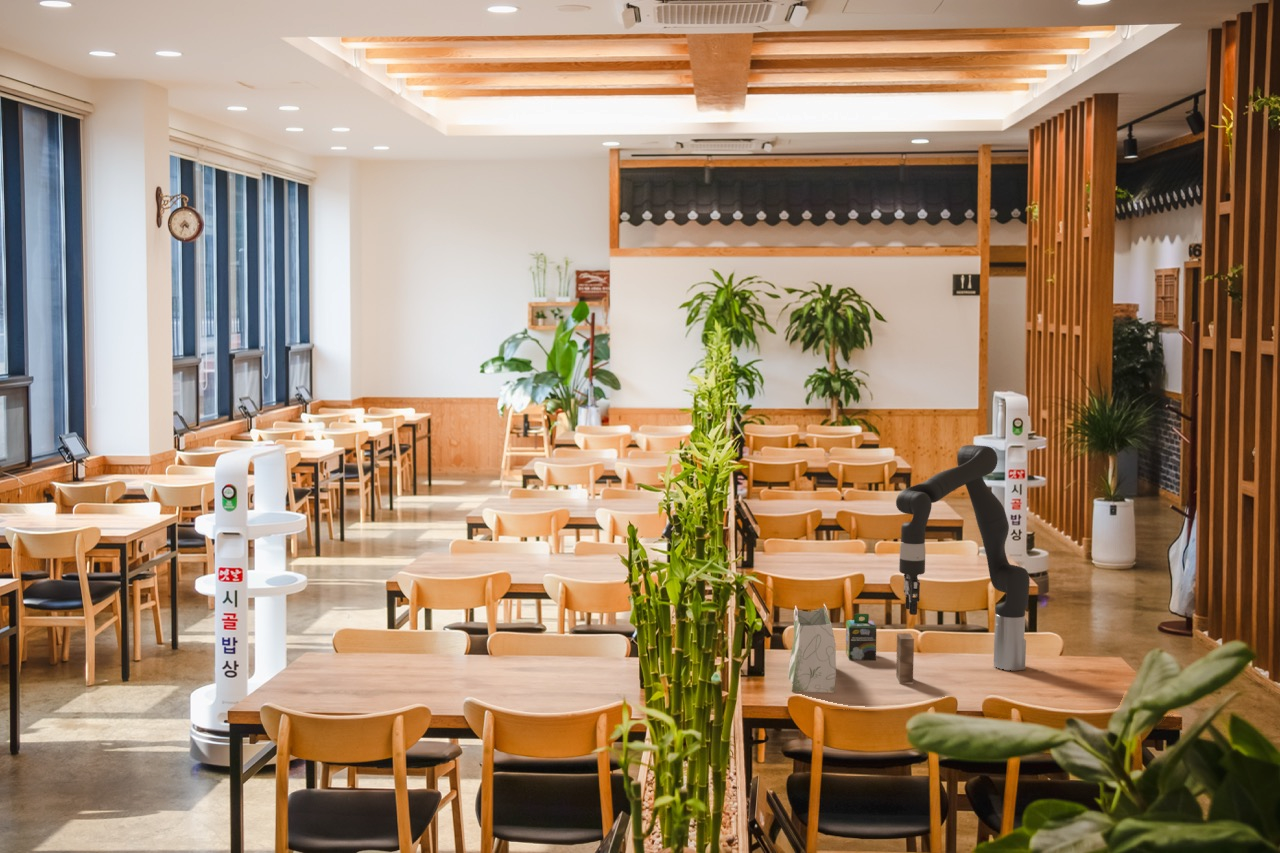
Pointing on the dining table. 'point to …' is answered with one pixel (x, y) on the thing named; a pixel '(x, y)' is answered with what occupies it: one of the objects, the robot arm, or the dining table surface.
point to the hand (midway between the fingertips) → (911, 611)
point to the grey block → (905, 658)
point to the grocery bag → (813, 652)
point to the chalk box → (861, 638)
